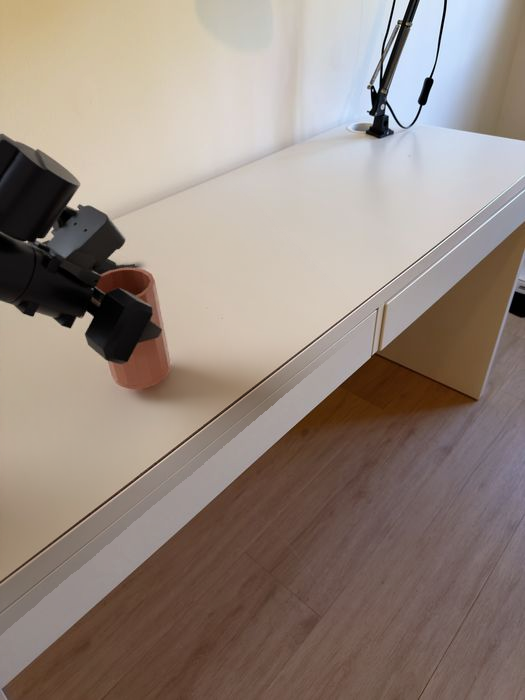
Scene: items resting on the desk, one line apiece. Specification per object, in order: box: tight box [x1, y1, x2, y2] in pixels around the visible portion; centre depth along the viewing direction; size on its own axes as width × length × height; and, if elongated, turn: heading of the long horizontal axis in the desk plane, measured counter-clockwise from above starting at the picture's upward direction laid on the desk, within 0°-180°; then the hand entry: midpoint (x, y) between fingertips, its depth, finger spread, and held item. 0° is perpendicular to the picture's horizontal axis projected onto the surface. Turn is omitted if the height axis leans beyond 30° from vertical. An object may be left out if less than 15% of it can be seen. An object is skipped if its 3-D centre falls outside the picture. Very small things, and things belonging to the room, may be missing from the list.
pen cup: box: [92, 267, 172, 390], centre depth 60 cm, size 7×7×12 cm
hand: (141, 319), depth 60 cm, fingers closed on pen cup, 7 cm apart
